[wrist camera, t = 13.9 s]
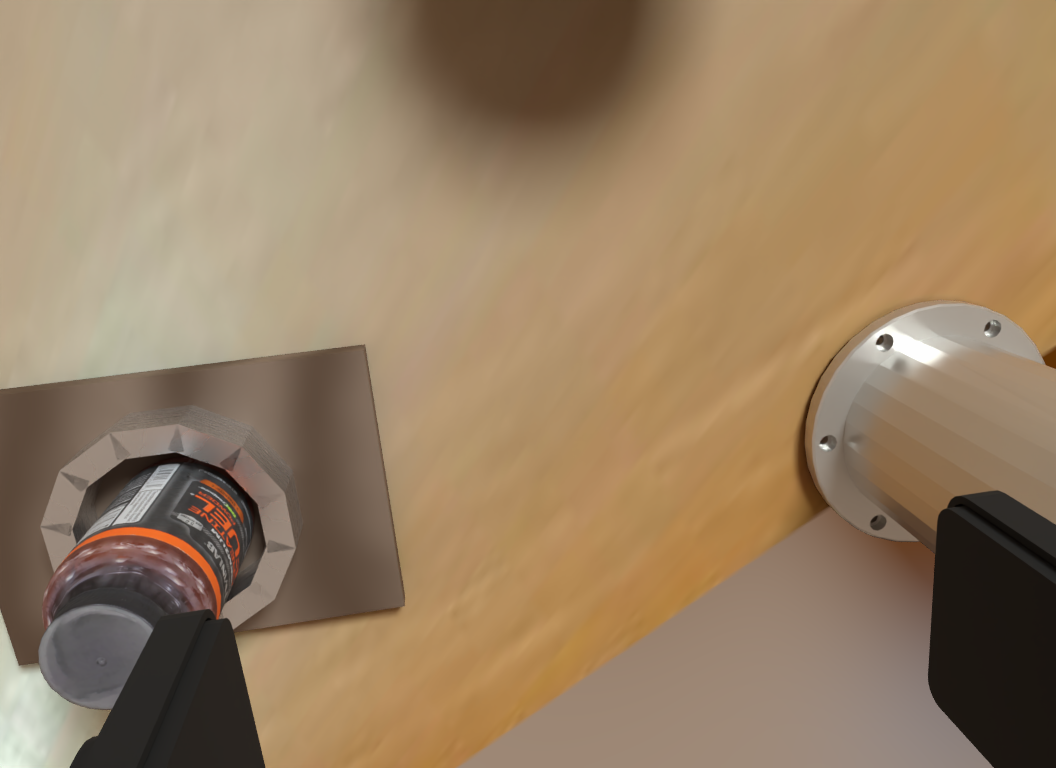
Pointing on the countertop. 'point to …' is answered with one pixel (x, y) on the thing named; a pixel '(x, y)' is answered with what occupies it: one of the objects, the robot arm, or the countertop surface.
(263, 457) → the steel collar
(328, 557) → the holder board
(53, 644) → the supplement bottle
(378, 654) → the countertop surface
